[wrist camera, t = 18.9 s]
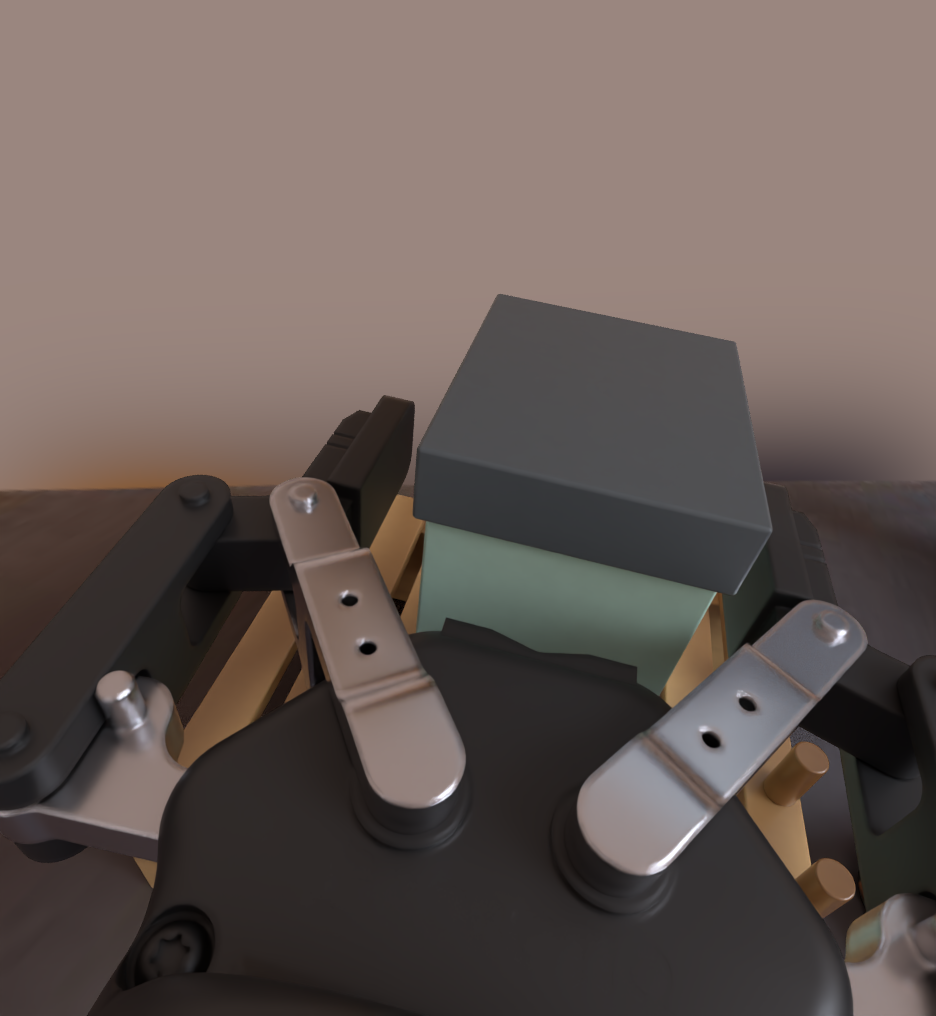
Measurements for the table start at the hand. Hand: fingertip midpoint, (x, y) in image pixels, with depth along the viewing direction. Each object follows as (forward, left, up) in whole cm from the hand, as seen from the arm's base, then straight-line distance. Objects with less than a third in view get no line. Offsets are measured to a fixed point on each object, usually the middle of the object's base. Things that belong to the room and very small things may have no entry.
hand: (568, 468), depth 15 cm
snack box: (0, -2, -8) cm, 8 cm away
